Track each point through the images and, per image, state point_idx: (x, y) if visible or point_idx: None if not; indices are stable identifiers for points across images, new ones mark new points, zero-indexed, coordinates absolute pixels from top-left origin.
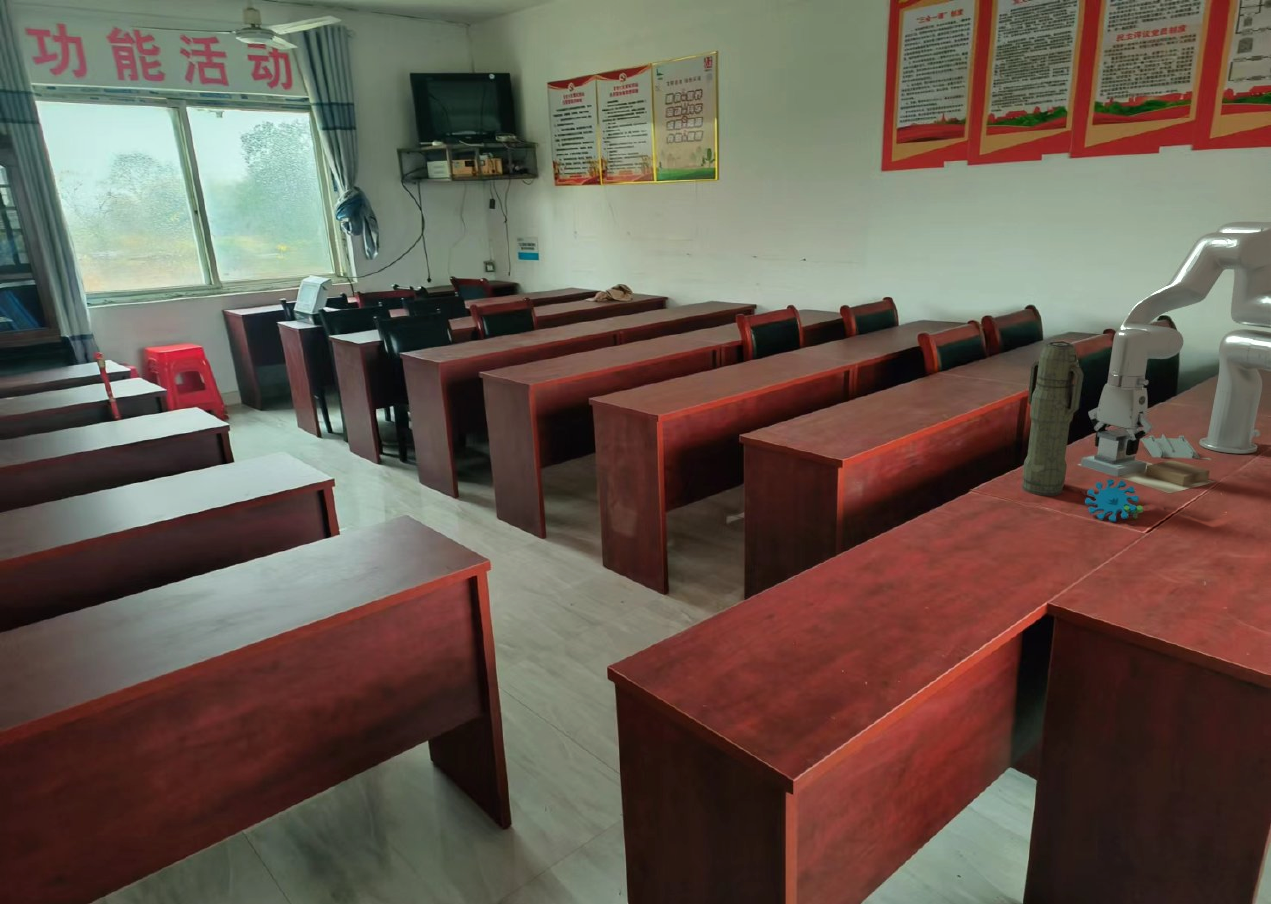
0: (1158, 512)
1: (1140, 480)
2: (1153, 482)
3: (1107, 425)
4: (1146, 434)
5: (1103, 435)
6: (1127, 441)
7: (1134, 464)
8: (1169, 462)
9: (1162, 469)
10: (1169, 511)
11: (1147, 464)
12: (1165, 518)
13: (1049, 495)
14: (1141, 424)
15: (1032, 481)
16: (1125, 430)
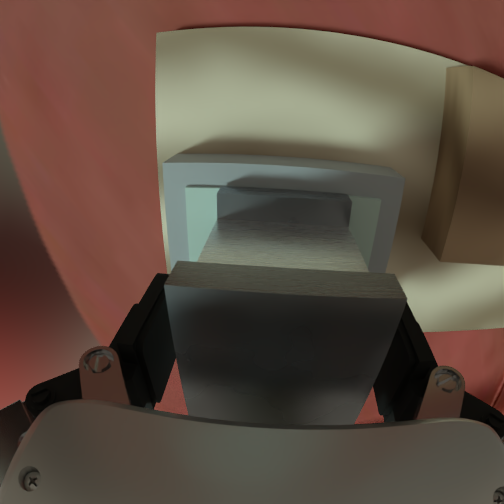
0: (484, 395)
1: (426, 304)
2: (463, 287)
3: (128, 395)
4: (493, 413)
5: None
6: (378, 409)
7: (379, 256)
8: (486, 122)
9: (494, 256)
10: (500, 378)
11: (342, 64)
12: (493, 402)
13: None
14: (467, 431)
15: None
16: (268, 331)
